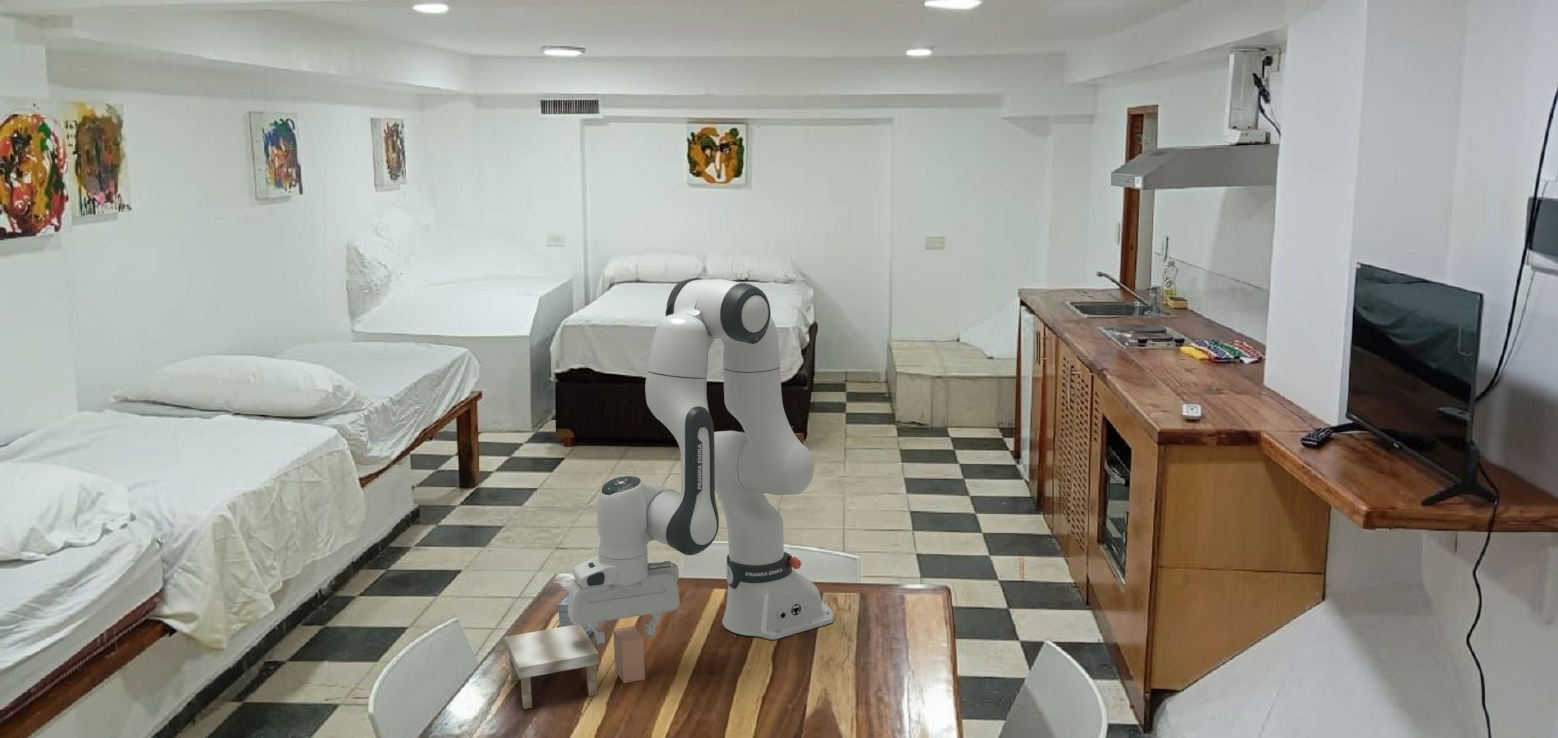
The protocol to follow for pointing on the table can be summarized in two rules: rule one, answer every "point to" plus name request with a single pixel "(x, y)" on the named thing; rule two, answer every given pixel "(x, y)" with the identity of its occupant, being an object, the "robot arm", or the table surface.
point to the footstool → (551, 656)
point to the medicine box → (564, 617)
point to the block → (629, 654)
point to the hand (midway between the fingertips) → (625, 639)
